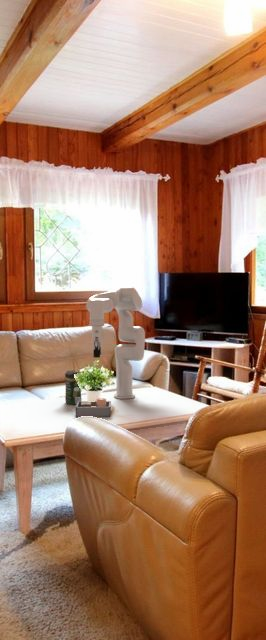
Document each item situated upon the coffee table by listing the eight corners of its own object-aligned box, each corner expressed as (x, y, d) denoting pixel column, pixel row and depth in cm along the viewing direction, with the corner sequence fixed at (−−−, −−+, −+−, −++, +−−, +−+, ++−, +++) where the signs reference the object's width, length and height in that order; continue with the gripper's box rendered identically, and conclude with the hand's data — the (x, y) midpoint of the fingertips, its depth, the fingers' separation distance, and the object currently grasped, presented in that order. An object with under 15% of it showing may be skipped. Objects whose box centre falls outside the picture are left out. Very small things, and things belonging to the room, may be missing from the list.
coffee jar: (63, 402, 304) (62, 370, 303) (76, 400, 308) (75, 369, 307) (70, 405, 296) (70, 372, 295) (83, 404, 300) (83, 371, 299)
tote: (78, 410, 285) (78, 401, 285) (111, 410, 285) (110, 401, 285) (75, 417, 272) (75, 407, 271) (110, 416, 272) (110, 407, 272)
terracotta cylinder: (106, 411, 281) (106, 398, 281) (106, 413, 276) (105, 400, 276) (96, 411, 281) (96, 398, 281) (96, 413, 276) (96, 400, 276)
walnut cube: (91, 411, 281) (91, 402, 281) (90, 413, 276) (90, 404, 276) (81, 411, 281) (81, 402, 281) (80, 413, 276) (80, 404, 276)
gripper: (103, 324, 267) (103, 358, 268) (104, 321, 284) (105, 353, 285) (88, 324, 266) (88, 358, 268) (90, 321, 284) (91, 353, 285)
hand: (97, 356), depth 276 cm, fingers open, 9 cm apart
